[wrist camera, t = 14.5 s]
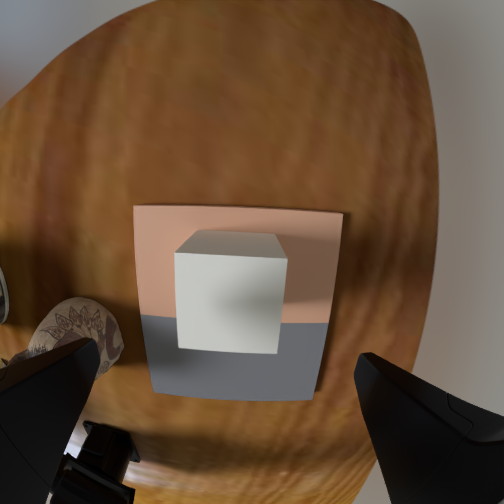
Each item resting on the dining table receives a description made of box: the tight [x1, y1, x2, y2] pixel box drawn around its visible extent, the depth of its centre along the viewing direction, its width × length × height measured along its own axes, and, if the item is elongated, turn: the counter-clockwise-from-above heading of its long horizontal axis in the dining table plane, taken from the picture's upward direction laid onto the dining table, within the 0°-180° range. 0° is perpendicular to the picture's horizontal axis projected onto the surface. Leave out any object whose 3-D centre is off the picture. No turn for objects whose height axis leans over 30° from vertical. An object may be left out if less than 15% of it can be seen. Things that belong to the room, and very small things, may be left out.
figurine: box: [7, 297, 124, 381], centre depth 15 cm, size 7×7×12 cm
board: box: [134, 204, 343, 401], centre depth 20 cm, size 16×14×1 cm
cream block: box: [174, 230, 288, 354], centre depth 16 cm, size 5×5×6 cm
